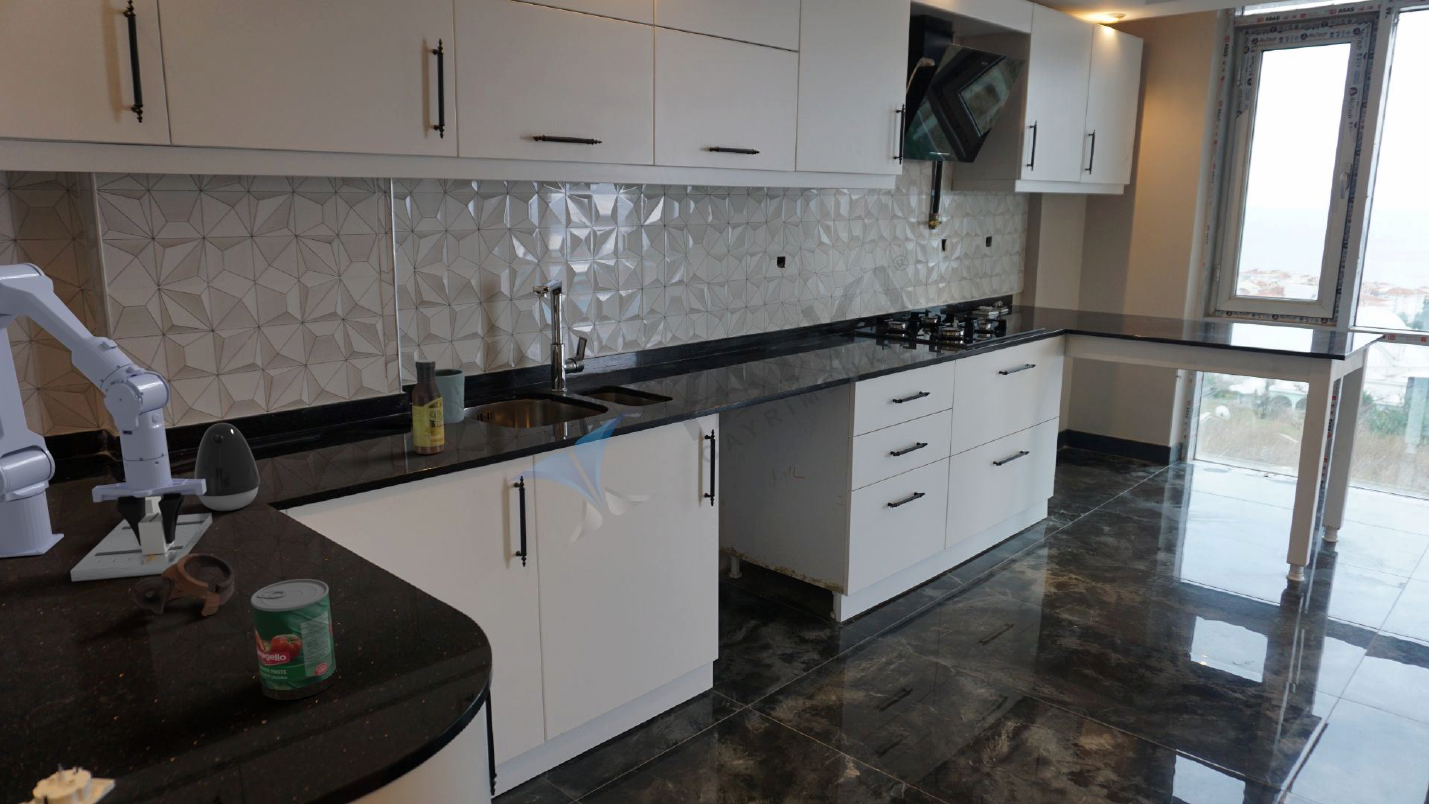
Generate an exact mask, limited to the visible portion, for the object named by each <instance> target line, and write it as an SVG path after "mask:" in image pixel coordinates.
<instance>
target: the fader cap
mask: <svg viewBox="0 0 1429 804" xmlns="http://www.w3.org/2000/svg"><path fill="white" fill-rule="evenodd" d="M138 526H139V534H140V541H141V548H142V555H151V554H163V553H166V552H167V550H168V549H169V548H170V547H171V546H172V544H173V543H174V541H173V542H172V543H171V544H167V543H166V539H165V534H164V524H163V519H162V515H161V513H159V512H158V513H148V514H147V515H146V516H145V517H144V518H143V519H142V520H141V521H140V522H139V523H138Z"/></svg>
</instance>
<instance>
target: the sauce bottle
mask: <svg viewBox="0 0 1429 804" xmlns="http://www.w3.org/2000/svg"><path fill="white" fill-rule="evenodd" d="M415 368H416V381H417V383H416V384H415V386H414V388H413V389H412V393H411V398H412V399H411V400H412V404H411V405H412V406H411V407H412V408H411V410H412V411H411V412H412V426H413V427H412V428H413V429H412V430H413V431H412V433H413V444H414V450H415V453H417V454H419V455H433V454H438V453H442V452H443V450H444V449H445V448H444V445H445V430H444V429H445V427H444V424H443V403H442V395H441V393H440V390H439V388H438V385H437V383H436V378H435V369H436V361H435V360H434V359H420V360H419V359H418V360H415Z"/></svg>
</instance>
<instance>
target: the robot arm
mask: <svg viewBox="0 0 1429 804" xmlns="http://www.w3.org/2000/svg"><path fill="white" fill-rule="evenodd" d="M53 282H54V281H53V280H52V279H51V278H50V277H48V276H47V275H45V273H44V271H43V270H42V269H41V268H40V267H38V266H37V265H36V264H34V263H31V262H21V263H16V264H5V265H0V558H11V557H24V556H26V557H27V556H36V555H38V556H39V555H44V554H45V553H46V552H48V551H49V550H50V549H51V548H52V547H54V546H55V545H56V544H57V543H58V542H60V540H62V538H64V533H52V525H51V520H50V514H49V513H50V511H49V509H48V500H47V494H46V489H47V488H49V487H50V485H49V481H50V480H51V479H52V478H53V476H54V475H55V470H56V465H55V460H54V458H53V456H52V454H51V453H50V451H49V449H48V448H47V445H46V441H45V438H44V436H42V435H40V434H38V433H36V432H34V431H32V430H30V429H28V424H27V419H26V416H25V410H24V406H23V401H22V396H21V395H22V394H21V392H20V391H21V390H20V387H19V386H20V385H19V382H18V376H17V372H16V368H15V363H14V358H13V354H12V349H11V344H10V339H9V335H8V330H7V329H8V327H9V325H11V324H12V323H13V321H15V319H16V318H17V317H18V316H22V317H29V318H30V319H32V321H34V322H35V323H37V324H38V325H39V327H41V328H43V329H44V330H45V331H46V332H48V334H50V335H51V336H53V338H55V339H56V340H58V341H59V342H60V343H61V344H63V345H64V346H65V347H66V348H67V349H69V350H70V351H71V362H72V363H71V364H73V366H74V367H75V368H76V369H78V370H79V371H80V372H81V374H83V375H84V376H85V377H86V378H87V379H88V380H89V381H90V382H91V383H92V384H94V386H96V387H97V388H98V389H99V390H100V391H101V392H102V393H103V394H104V395H105V397H104V398H103V403H104V405H105V408H106V410H107V411H108V412H109V414H111V416H112V418H113V423H114V426H115V427H116V429H117V430H118V433H119V440H120V448H121V454H122V461H123V462H122V463H123V470H124V475H125V477H124V478H125V482H118V483H113V484H106V485H96V486H94V488H92V489H91V492H92V501H93V503H101V502H103V501H111V500H113V501H114V500H117V503H118V504H116V506H115V508H116V511H117V512H118V513H119V514H120V515H121V516H122V517H123V519H125V520H126V521H127V522H128V524H129V525H130V527H131V528H132V530H133V532H134V534H135V536H136V538H137V540H138V543H139V546H141V541H140V534H139V526H138V523H139V522H140V521H141V520H142V519H143V518H144V517H145V516H146V512H145V497H158V496H161V497H163V498H161V500H160V501H159V502H158V506H159V508H160V511H161V515H162V519H163V524H164V534H165V539H166V543H167V544H171V543H172V542H173V541H174V540H175V531H176V524H177V520H178V516H179V514H180V511H181V509H182V506H183V504H184V501H185V498H186V496H187V495H195V496H198V495H203V494H204V493H205V492H206V482H205V479H195V478H192V479H191V478H172V475H171V474H172V473H171V467H170V457H169V452H168V450H169V449H168V441H167V436H166V427H165V419H164V411H163V408H165V407H167V405H168V403H169V402H170V399H171V398H170V397H171V392H170V391H171V390H170V387H169V384H168V383H167V382H166V380H165V379H164V378H163V376H162V375H161V374H160V373H158V372H156V371H150V370H146V369H145V368H144V367H140V366H138V365H137V364H136V363H134V362H133V361H132V360H131V358H129V356H127V355H126V354H125V353H124V352H123V351H121V349H120V348H119V347H118V344H117V343H116V342H115V341H114V340H113V339H109V338H108V337H106V336H105V337H104V336H94V335H93V334H92V333H91V332H90V331H89V330H88V329H87V328H86V326H84V324H83V323H82V322H81V321H80V320H79V318H78V317H76V316H75V314H74V313H73V312H72V311H71V310H70V308H68V306H67V305H66V304H64V302H63V301H62V300H61V298H59V297H58V296H57V295H56V294H55V292H54V283H53Z"/></svg>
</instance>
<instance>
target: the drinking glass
mask: <svg viewBox="0 0 1429 804" xmlns="http://www.w3.org/2000/svg"><path fill="white" fill-rule="evenodd" d="M435 378H436V383H437V385H438V388H439V390H440V393H441V395H442V403H443V425H448V424H449V425H451V424H456V423H460V422H463V420H464V419H465V412H464V411H465V403H464V402H465V401H464V400H465V370H463V369H459V368H448V367H447V368H435Z"/></svg>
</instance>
